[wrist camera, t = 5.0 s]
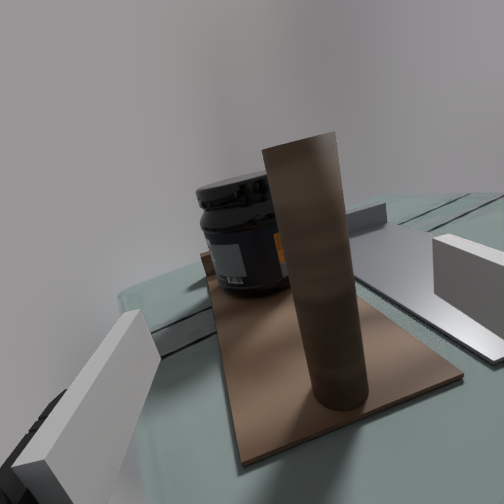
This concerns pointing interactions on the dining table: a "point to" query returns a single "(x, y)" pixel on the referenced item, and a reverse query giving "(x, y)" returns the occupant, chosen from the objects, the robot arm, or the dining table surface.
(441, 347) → the dining table surface
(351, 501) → the dining table surface
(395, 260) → the grey l-shaped stand
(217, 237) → the supplement container
